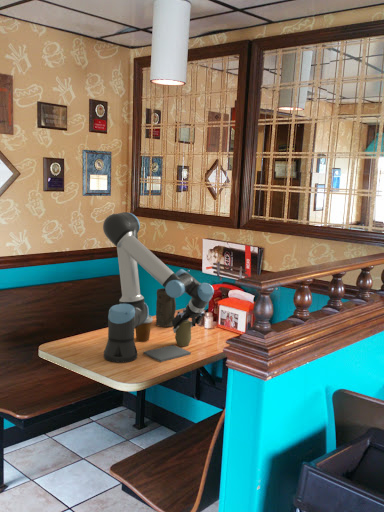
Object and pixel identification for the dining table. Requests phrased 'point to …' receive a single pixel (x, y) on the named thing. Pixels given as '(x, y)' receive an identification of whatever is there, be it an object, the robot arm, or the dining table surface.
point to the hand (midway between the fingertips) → (180, 330)
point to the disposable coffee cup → (144, 330)
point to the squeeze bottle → (183, 333)
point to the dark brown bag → (164, 308)
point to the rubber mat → (166, 353)
